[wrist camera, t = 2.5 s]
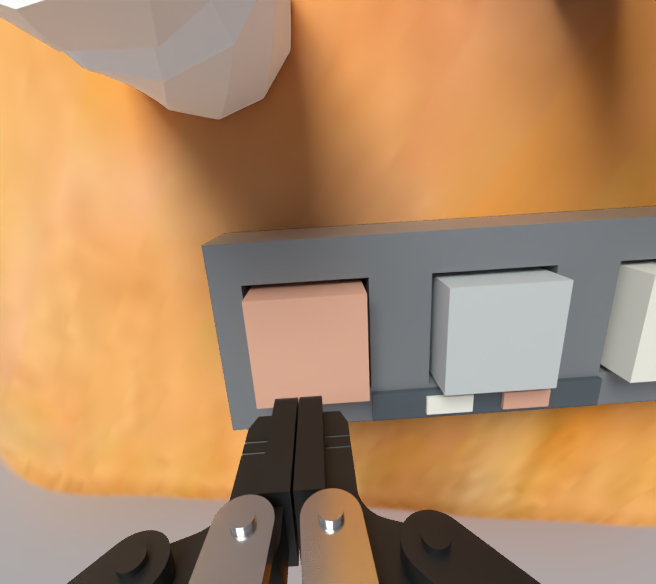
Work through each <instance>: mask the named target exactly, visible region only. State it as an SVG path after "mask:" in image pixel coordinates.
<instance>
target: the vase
mask: <svg viewBox="0 0 656 584" xmlns="http://www.w3.org/2000/svg"><path fill="white" fill-rule="evenodd" d="M0 17H1V18H3V19H5V20H7V21H8V22H10V23H12V24H13V25H15V26H17V27H18V28H20V29H22V30H23V31H25V32H27V33H29V34H30V35H32V36H34V37H35V38H37V39H39V40H40V41H42V42H44V43H46V44H47V45H49V46H51V47H52V48H54V49H56V50H57V51H63V52H65V53H66V54H67V55H68V56H69V57H71V58H72V59H73V60H74V61H75V62H76V63H78V64H79V65H80V66H81V67H83V68H85V69H87V70H90V71H92V72H96V73H99V74H102V75H105V76H107V77H110V78H112V79H115V80H118V81H120V82H123V83H125V84H127V85H129V86H131V87H133V88H135V89H137V90H139V91H141V92H143V93H145V94H146V95H148V96H149V97H151V98H153V99H154V100H156V101H158V102H159V103H160V104H161V105H163V106H164V107H165V108H167V109H168V110H171V111H176V112H181V113H187V114H192V115H197V116H202V117H207V118H213V119H218V120H219V119H222V118H224V117H226V116H228V115H230V114H232V113H234V112H236V111H239V110H241V109H243V108H245V107H247V106H249V105H251V104H253V103H255V102H258V101H260V100H262V99H264V97H265V95H266V94H267V92H268V90H269V88H270V86H271V85H272V83H273V81H274V79H275V77H276V76H277V74H278V72H279V70H280V69H281V67H282V65H283V63H284V61H285V60H286V58H287V56H288V54H289V52H290V50H291V9H290V0H0Z"/></svg>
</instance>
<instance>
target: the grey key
mask: <svg viewBox="0 0 656 584" xmlns="http://www.w3.org/2000/svg"><path fill="white" fill-rule="evenodd" d="M573 281H574V280H572V279H570V278H567V277H564V276H562V275H559V274H556V273H554V272H551V271H548V270H546V269H543V268H540V267H538V266H537V267H521V268H506V269H491V270H476V271H460V272H445V273H432V297H431V327H430V357H429V371H430V372H431V374H432V376H433V377H434V379H435V381H436V382H437V384H438V386H439V387H440V389H441V391H442V392H443V394H444V396H449V395H463V394H478V393H492V392H506V391H521V390H535V389H550V388H556V386H557V380H558V374H559V368H560V362H561V355H562V349H563V343H564V337H565V331H566V325H567V318H568V312H569V306H570V300H571V294H572V288H573Z"/></svg>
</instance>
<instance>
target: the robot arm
mask: <svg viewBox="0 0 656 584" xmlns="http://www.w3.org/2000/svg"><path fill="white" fill-rule="evenodd" d="M299 549H300V558H301V565H302V584H540V583H539V582H538V581H536V580H535V579H534V578H532V577H531V576H530V575H528V574H527V573H526V572H524V571H523V570H522V569H520V568H519V567H518V566H516V565H515V564H514V563H512V562H511V561H509V560H508V559H507V558H505V557H504V556H503V555H501V554H500V553H499V552H497V551H496V550H495V549H493V548H492V547H491V546H489V545H488V544H486V543H485V542H484V541H483V540H481V539H480V538H479V537H477V536H476V535H475V534H473V533H472V532H471V531H469V530H468V529H466V528H465V527H464V526H463V525H461V524H460V523H458V522H457V521H456V520H455V519H453V518H451V517H450V516H448V515H446V514H444V513H441V512H438V511H434V510H422V511H418V512H415V513H413V514H411V515H410V516H409V517H408V518H407V519H406V520H405V521H404V523H402V522H398V521H394V520H390V519H386V518H383V517H380V516H378V515H376V514H375V513H373V512H372V511H370V510H369V509H368V508H367V507H366V506H365V505H364V504H363V502H362V501H361V499H360V497H359V495H358V491H357V485H356V478H355V470H354V463H353V456H352V449H351V442H350V436H349V428H348V421H347V420H346V418H345V417H344V416H343V415H342V413H341V412H340V411H328V412H323V402H322V396H308V397H300V398H299V399H298V397H295V398H281V399H275V401H274V407H273V412H272V416H260V417H258V418H257V419H256V420H255V422H254V423H253V424H252V425H251V427H250V428H249V430H248V434H247V438H246V441H245V445H244V449H243V453H242V456H241V460H240V464H239V468H238V471H237V475H236V479H235V483H234V486H233V490H232V494H231V498H230V501H229V502H228V503H226V504H225V505H224V506H223V507H222V508H221V509H220V510H219V511H218V512H217V514H216V515H215V517H214V519H213V521H212V523H211V526H209V527H208V528H206V529H205V530H203V531H201V532H199V533H197V534H194V535H192V536H189V537H186V538H184V539H181V540H179V541H176V542H173V543H171V544H170V543H169V540H168V538H167V537H166V536H165V535H164V534H163V533H161V532H158V531H154V530H148V531H142V532H139V533H135V534H133V535H131V536H129V537H127V538H125V539H124V540H122V541H121V542H119V543H118V544H117V545H115V546H114V547H113V548H111V549H110V550H109V551H108V552H106V553H105V554H104V555H103V556H101V557H100V558H99V559H98V560H96V561H95V562H94V563H93V564H91V565H90V566H89V567H88V568H86V569H85V570H84V571H83V572H81V573H80V574H79V575H77V576H76V577H75V578H74V579H72V580H71V581H70V582H69V583H68V584H287V578H288V567H289V566H298V565H299Z"/></svg>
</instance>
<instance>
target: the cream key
mask: <svg viewBox="0 0 656 584" xmlns="http://www.w3.org/2000/svg"><path fill="white" fill-rule="evenodd" d="M600 364H601V365H603V366H604V367H606V368H608V369H609V370H611V371H612V372H614V373H615V374H617V375H619V376H620V377H622V378H623V379H625V380H626V381H628V382H629V383H636V382H650V381H656V259H644V260H628V261H621V264H620V269H619V274H618V279H617V284H616V289H615V294H614V299H613V304H612V309H611V314H610V319H609V324H608V329H607V334H606V339H605V344H604V348H603V353H602V358H601V363H600Z"/></svg>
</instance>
